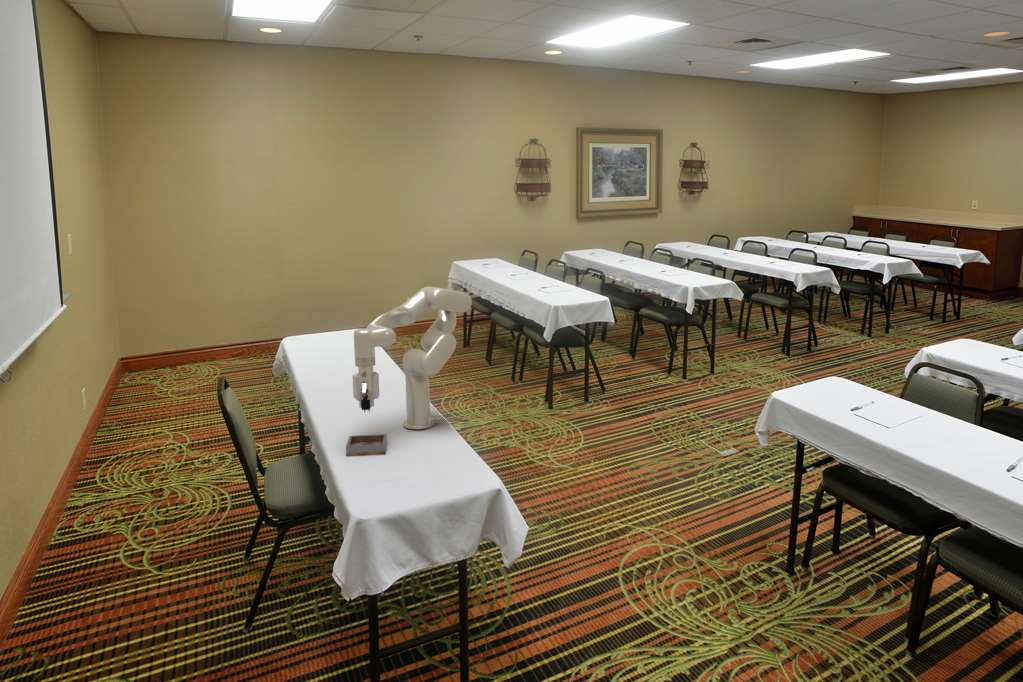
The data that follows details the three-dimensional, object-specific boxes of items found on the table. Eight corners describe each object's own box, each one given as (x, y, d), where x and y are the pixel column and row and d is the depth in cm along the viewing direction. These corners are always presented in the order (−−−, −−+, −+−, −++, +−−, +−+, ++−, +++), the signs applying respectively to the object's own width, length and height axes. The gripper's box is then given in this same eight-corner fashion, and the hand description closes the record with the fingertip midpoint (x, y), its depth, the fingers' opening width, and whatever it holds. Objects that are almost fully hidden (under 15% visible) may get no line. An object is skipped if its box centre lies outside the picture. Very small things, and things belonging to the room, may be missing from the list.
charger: (380, 412, 253) (379, 374, 251) (356, 415, 249) (355, 376, 246) (376, 409, 257) (375, 371, 255) (353, 412, 253) (351, 374, 250)
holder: (387, 443, 255) (386, 434, 254) (385, 454, 243) (384, 444, 243) (350, 445, 253) (349, 435, 253) (346, 456, 242) (345, 446, 241)
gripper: (373, 366, 241) (374, 413, 245) (377, 356, 258) (378, 400, 262) (352, 366, 241) (354, 414, 244) (357, 356, 257) (359, 401, 261)
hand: (367, 406), depth 253 cm, fingers closed on charger, 6 cm apart
